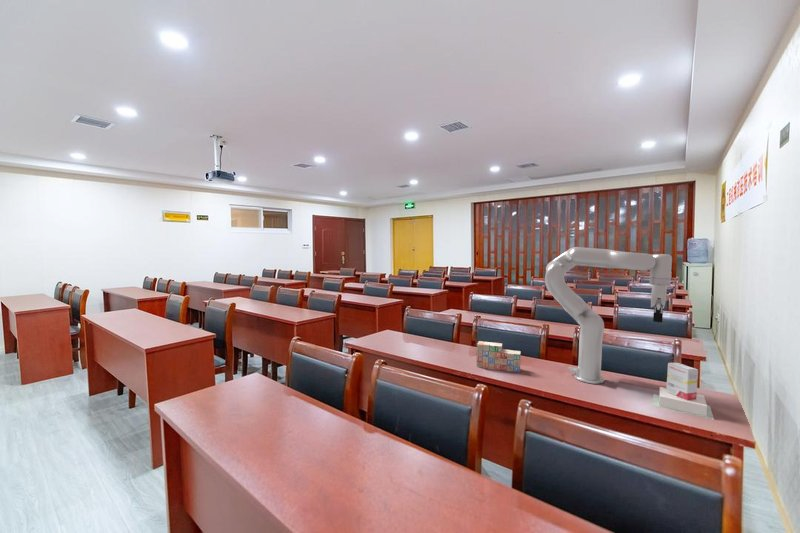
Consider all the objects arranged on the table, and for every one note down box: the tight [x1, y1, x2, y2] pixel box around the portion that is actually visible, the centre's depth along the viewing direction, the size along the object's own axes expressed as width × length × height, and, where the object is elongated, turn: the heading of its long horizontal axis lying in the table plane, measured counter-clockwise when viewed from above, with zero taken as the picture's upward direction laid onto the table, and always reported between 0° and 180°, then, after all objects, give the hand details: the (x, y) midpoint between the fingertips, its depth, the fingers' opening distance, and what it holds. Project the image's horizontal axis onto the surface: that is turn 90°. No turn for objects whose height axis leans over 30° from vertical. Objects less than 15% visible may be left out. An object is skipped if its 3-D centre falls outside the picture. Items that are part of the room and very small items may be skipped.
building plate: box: [652, 393, 715, 421], centre depth 139 cm, size 18×14×1 cm
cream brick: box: [658, 386, 708, 418], centre depth 139 cm, size 14×12×4 cm
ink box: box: [665, 362, 699, 400], centre depth 139 cm, size 9×5×12 cm, turn 12°
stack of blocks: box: [476, 340, 521, 373], centre depth 183 cm, size 21×6×12 cm, turn 68°
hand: (657, 320), depth 159 cm, fingers open, 9 cm apart
